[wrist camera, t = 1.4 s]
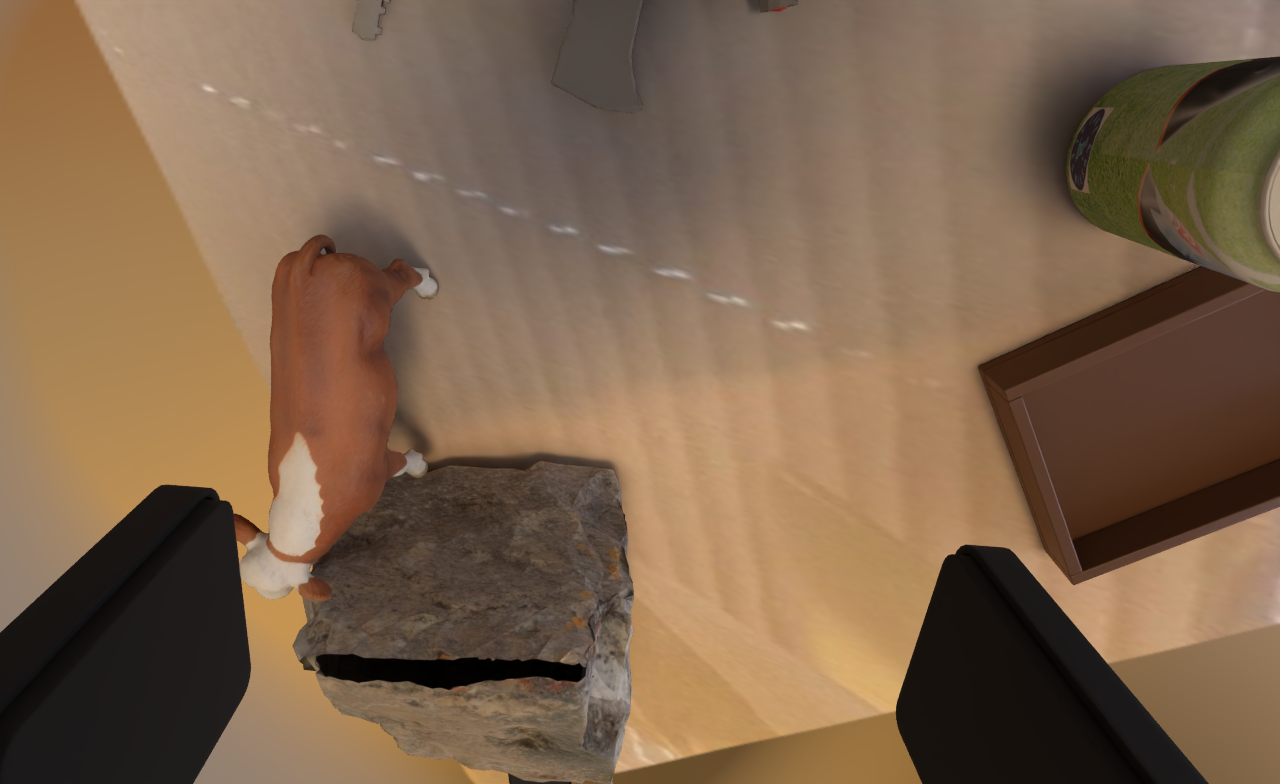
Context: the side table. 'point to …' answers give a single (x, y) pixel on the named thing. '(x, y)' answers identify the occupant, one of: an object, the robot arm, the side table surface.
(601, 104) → the toy gun
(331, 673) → the stone
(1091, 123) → the beverage can
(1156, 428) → the serving tray
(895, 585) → the side table surface
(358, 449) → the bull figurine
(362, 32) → the key chain
